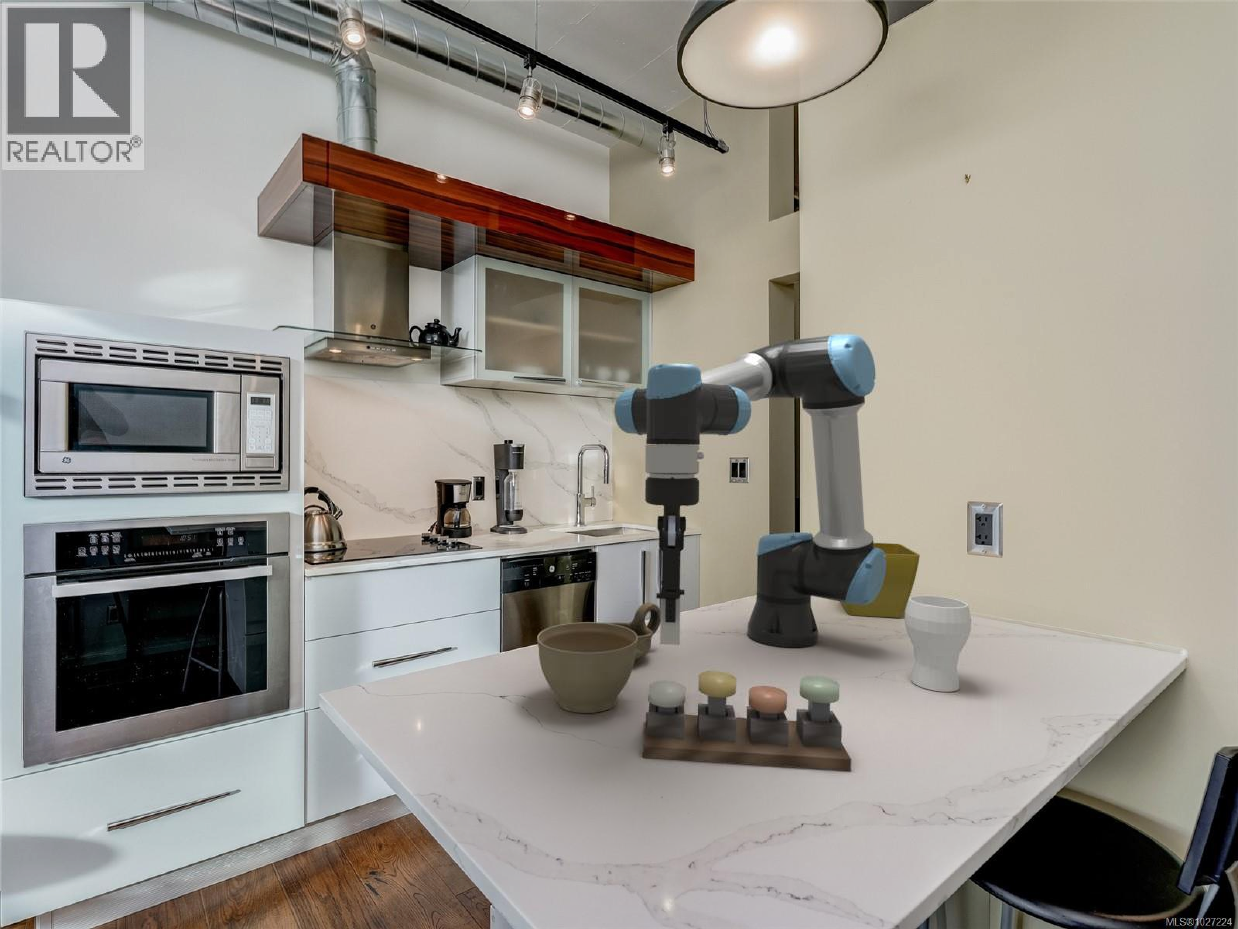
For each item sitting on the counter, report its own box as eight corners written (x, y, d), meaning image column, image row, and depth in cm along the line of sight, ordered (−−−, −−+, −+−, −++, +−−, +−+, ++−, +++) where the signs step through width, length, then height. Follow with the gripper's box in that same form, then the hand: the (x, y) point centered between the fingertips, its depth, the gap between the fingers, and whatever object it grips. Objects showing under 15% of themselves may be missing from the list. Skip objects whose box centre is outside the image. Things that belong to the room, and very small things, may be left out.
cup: (977, 698, 108) (980, 610, 108) (910, 692, 110) (913, 606, 110) (957, 676, 119) (960, 596, 118) (896, 671, 121) (899, 592, 120)
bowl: (567, 655, 126) (569, 605, 125) (638, 641, 136) (639, 595, 136) (607, 676, 115) (608, 621, 114) (681, 659, 125) (682, 609, 124)
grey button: (646, 731, 88) (647, 693, 87) (648, 715, 93) (649, 679, 93) (684, 733, 87) (685, 695, 87) (684, 717, 92) (685, 681, 92)
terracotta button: (750, 737, 86) (751, 699, 86) (745, 721, 92) (746, 684, 92) (789, 740, 86) (790, 701, 86) (782, 723, 91) (783, 686, 91)
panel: (642, 757, 85) (643, 724, 85) (646, 722, 96) (646, 692, 96) (850, 770, 83) (851, 736, 82) (829, 733, 94) (830, 702, 93)
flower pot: (837, 618, 159) (839, 551, 158) (825, 600, 178) (827, 540, 177) (918, 623, 156) (921, 555, 155) (897, 604, 174) (900, 543, 174)
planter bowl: (543, 682, 111) (545, 620, 111) (636, 685, 111) (638, 623, 110) (527, 722, 95) (529, 649, 95) (636, 726, 95) (637, 653, 94)
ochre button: (698, 721, 87) (699, 683, 87) (697, 706, 92) (698, 670, 92) (737, 724, 87) (738, 685, 86) (733, 708, 92) (734, 672, 92)
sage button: (803, 727, 86) (804, 688, 86) (795, 712, 91) (796, 675, 91) (842, 730, 85) (843, 691, 85) (832, 714, 91) (834, 677, 90)
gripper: (701, 479, 82) (698, 659, 83) (697, 473, 95) (695, 630, 96) (643, 478, 83) (641, 657, 84) (647, 473, 96) (645, 628, 97)
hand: (669, 642), depth 90 cm, fingers closed
